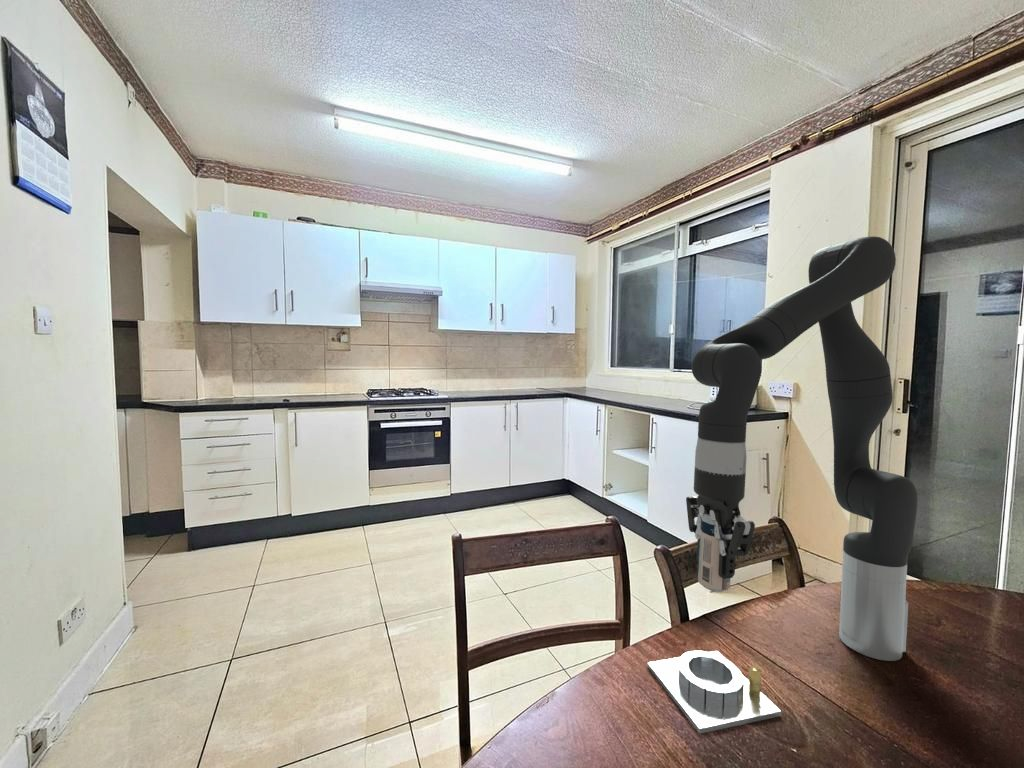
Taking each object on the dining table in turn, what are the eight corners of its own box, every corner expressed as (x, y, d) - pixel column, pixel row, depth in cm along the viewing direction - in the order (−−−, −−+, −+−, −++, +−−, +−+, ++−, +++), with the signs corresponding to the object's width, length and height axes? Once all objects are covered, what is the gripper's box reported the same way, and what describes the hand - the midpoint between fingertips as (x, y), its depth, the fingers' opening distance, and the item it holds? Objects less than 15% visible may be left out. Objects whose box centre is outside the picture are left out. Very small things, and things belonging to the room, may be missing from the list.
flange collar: (717, 655, 79) (717, 629, 79) (781, 716, 66) (782, 685, 65) (647, 666, 76) (648, 640, 76) (699, 733, 62) (700, 701, 62)
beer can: (733, 595, 69) (737, 521, 68) (701, 591, 70) (704, 517, 69) (725, 581, 74) (729, 511, 73) (695, 577, 75) (698, 508, 74)
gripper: (774, 477, 65) (768, 589, 66) (711, 457, 79) (706, 549, 80) (730, 479, 63) (724, 594, 64) (673, 457, 77) (669, 552, 78)
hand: (714, 568), depth 72 cm, fingers closed on beer can, 4 cm apart
